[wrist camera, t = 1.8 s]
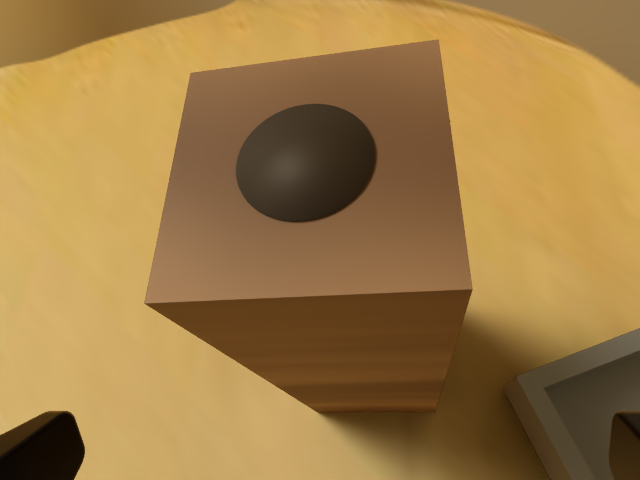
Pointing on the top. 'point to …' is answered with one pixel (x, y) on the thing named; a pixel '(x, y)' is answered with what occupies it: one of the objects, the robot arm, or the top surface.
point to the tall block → (320, 226)
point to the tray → (578, 406)
